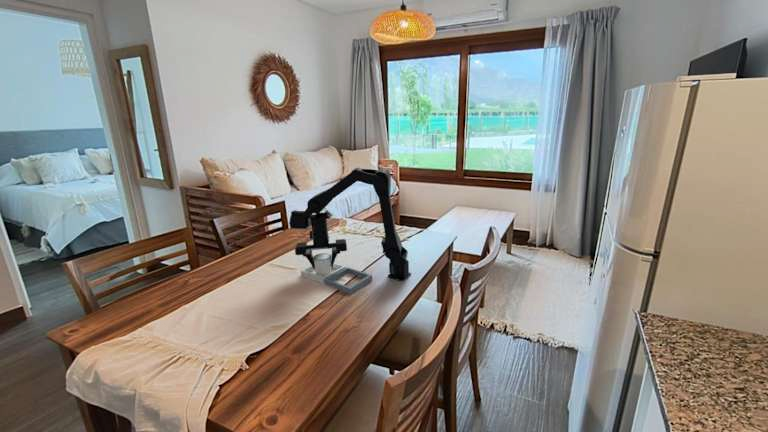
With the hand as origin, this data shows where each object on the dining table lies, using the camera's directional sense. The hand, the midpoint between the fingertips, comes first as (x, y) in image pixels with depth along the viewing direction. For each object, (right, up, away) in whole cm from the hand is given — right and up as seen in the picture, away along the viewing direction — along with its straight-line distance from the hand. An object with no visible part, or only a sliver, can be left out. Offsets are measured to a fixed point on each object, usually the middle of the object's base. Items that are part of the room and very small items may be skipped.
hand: (323, 267), depth 132 cm
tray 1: (0, -2, +1) cm, 2 cm away
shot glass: (0, -2, +1) cm, 3 cm away
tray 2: (+11, -4, -7) cm, 13 cm away
